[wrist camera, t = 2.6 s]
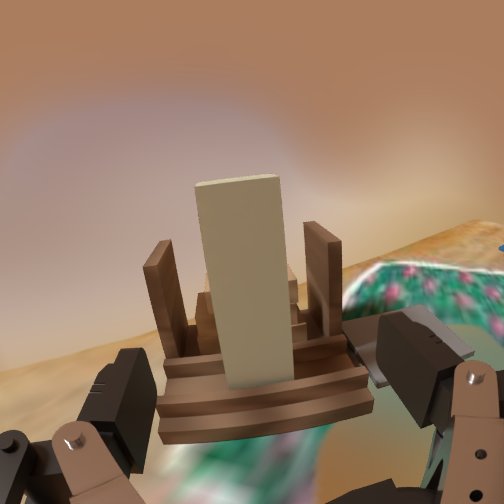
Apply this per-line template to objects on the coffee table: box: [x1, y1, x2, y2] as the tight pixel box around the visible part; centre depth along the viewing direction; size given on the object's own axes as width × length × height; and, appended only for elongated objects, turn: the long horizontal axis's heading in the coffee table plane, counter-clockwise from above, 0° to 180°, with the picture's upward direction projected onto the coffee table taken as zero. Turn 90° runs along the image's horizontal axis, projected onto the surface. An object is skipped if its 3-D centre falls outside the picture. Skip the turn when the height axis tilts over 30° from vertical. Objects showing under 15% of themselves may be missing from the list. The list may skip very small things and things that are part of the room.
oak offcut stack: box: [195, 264, 307, 356], centre depth 31 cm, size 10×6×7 cm, turn 96°
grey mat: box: [342, 304, 475, 388], centre depth 29 cm, size 11×11×1 cm
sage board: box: [195, 174, 294, 390], centre depth 23 cm, size 5×3×16 cm, turn 96°
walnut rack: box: [143, 221, 374, 444], centre depth 27 cm, size 16×16×12 cm
